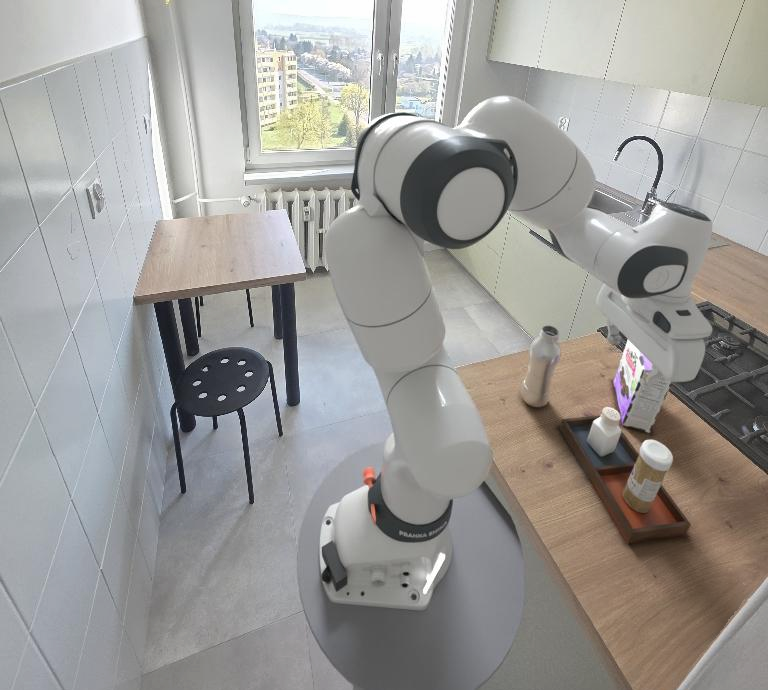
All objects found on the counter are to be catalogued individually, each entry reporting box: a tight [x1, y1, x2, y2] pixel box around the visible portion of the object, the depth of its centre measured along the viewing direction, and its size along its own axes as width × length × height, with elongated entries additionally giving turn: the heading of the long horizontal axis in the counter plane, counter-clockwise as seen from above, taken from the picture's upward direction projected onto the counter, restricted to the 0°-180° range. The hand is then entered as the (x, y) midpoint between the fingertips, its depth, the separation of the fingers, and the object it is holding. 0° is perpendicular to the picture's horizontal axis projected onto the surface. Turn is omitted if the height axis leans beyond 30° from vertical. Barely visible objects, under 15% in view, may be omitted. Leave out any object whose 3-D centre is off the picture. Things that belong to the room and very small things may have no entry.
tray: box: [559, 414, 692, 545], centre depth 80 cm, size 11×22×3 cm, turn 8°
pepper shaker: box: [587, 406, 622, 456], centre depth 83 cm, size 4×4×10 cm
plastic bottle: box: [520, 324, 562, 408], centre depth 93 cm, size 6×7×20 cm
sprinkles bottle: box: [622, 439, 674, 513], centre depth 73 cm, size 5×5×14 cm
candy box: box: [613, 338, 673, 434], centre depth 93 cm, size 14×6×16 cm, turn 161°
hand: (629, 360), depth 75 cm, fingers open, 8 cm apart
